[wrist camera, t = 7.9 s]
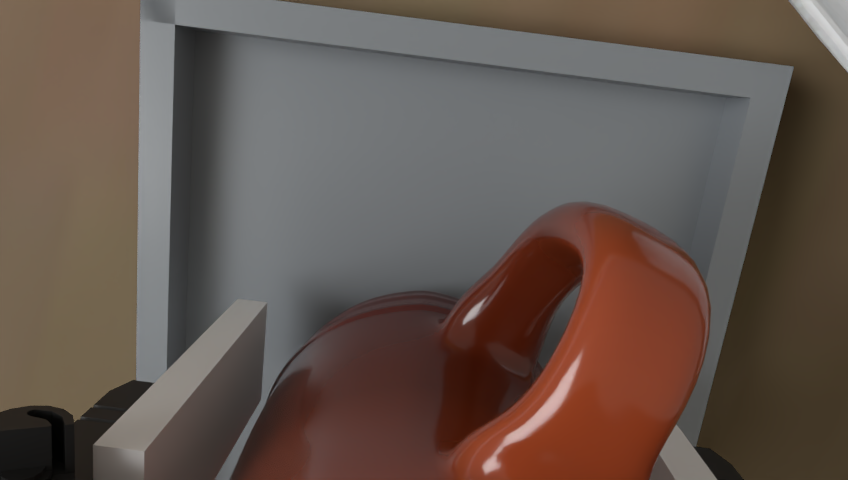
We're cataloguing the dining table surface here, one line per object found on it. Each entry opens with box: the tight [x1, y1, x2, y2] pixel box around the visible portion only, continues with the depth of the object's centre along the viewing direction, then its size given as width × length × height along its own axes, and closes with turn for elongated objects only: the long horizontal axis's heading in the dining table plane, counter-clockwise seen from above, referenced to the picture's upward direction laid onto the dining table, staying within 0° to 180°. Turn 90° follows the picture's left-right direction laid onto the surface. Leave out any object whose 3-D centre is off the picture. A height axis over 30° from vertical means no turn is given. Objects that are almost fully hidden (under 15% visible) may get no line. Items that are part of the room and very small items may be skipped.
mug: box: [229, 201, 711, 480], centre depth 12 cm, size 12×9×10 cm
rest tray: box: [136, 0, 794, 480], centre depth 16 cm, size 15×17×2 cm
